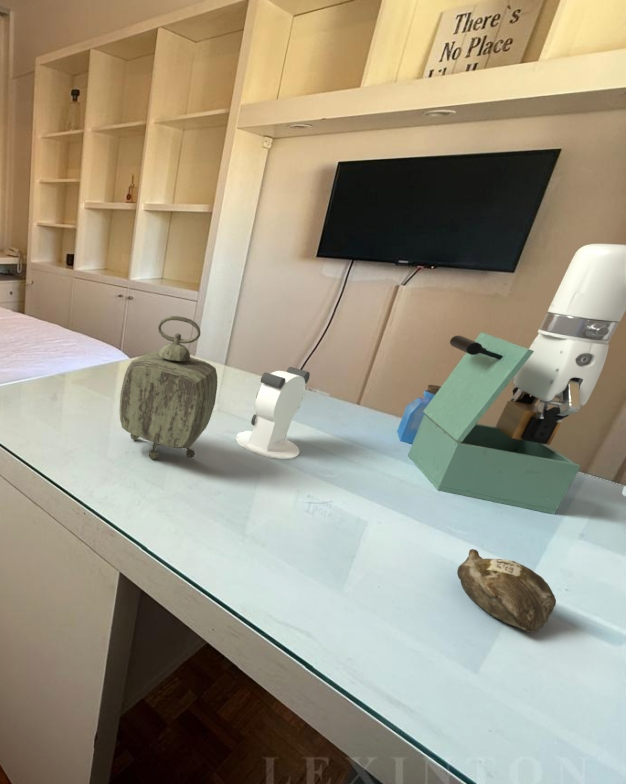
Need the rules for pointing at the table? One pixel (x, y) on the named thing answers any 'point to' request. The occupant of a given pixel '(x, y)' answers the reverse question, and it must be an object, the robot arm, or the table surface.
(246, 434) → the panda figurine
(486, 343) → the lid
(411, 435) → the perfume bottle
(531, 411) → the block
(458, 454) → the green storage box
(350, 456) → the table surface
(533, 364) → the robot arm
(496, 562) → the fossilized seashell
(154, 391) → the tabletop clock
